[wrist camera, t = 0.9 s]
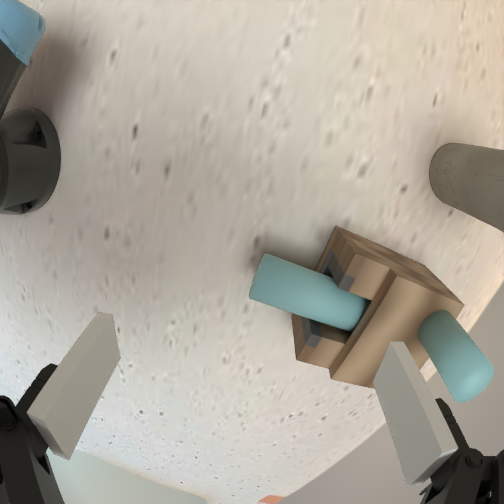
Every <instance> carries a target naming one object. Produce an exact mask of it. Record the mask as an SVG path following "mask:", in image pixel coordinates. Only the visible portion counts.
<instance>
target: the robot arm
mask: <svg viewBox="0 0 504 504" xmlns="http://www.w3.org/2000/svg"><path fill="white" fill-rule="evenodd" d="M44 30H45V21H44V19H43V17H42V16H41V15H40V14H39V13H37V12H36V11H34V10H33V9H31V8H29V7H28V6H26V5H25V4H23V3H21V2H20V1H18V0H0V214H15V215H21V214H26V213H29V212H31V211H33V210H36V209H38V208H40V207H41V206H42V205H43V204H44V203H45V202H46V201H47V200H48V199H49V197H50V196H51V194H52V192H53V190H54V188H55V185H56V183H57V179H58V175H59V169H60V146H59V141H58V137H57V133H56V131H55V128H54V126H53V124H52V123H51V121H50V120H49V118H48V117H47V116H46V115H45V114H44V113H42V112H41V111H39V110H36V109H17V110H13V111H11V112H9V113H7V114H5V115H3V113H4V111H5V109H6V106H7V104H8V102H9V99H10V97H11V95H12V93H13V91H14V89H15V87H16V85H17V83H18V81H19V79H20V77H21V75H22V73H23V71H24V69H25V68H26V66H28V65H29V63H30V58H31V56H32V54H33V52H34V50H35V48H36V46H37V44H38V42H39V40H40V39H41V37H42V35H43V33H44ZM119 360H120V353H119V348H118V343H117V337H116V332H115V326H114V320H113V315H112V314H107V313H102V312H98V313H97V315H96V316H95V317H94V319H93V320H92V321H91V322H90V324H89V325H88V326H87V328H86V329H85V330H84V332H83V333H82V334H81V336H80V337H79V338H78V339H77V341H76V342H75V344H74V345H73V346H72V348H71V349H70V350H69V352H68V353H67V354H66V356H65V357H64V358H63V360H62V361H61V363H60V364H59V365H55V364H52V363H51V364H49V365H48V366H46V367H45V368H43V369H42V370H41V371H40V373H39V374H38V375H37V377H36V379H34V381H33V382H32V384H31V386H29V388H28V389H27V391H26V392H25V394H24V395H23V396H22V398H21V399H20V401H19V402H18V404H17V405H16V407H15V405H14V403H13V402H12V400H11V399H10V398H9V397H6V396H4V395H2V396H0V504H9V503H10V504H65V503H64V501H63V498H62V496H61V493H60V491H59V488H58V486H57V483H56V480H55V477H54V474H53V471H52V468H51V465H50V462H49V459H48V456H47V454H46V450H47V448H48V446H49V448H50V449H51V451H52V452H53V453H54V454H55V455H58V456H60V457H63V458H65V459H67V460H70V458H71V456H72V453H73V451H74V449H75V447H76V445H77V443H78V441H79V439H80V436H81V434H82V432H83V430H84V428H85V426H86V424H87V422H88V420H89V418H90V416H91V414H92V412H93V410H94V408H95V406H96V404H97V402H98V400H99V398H100V396H101V394H102V392H103V390H104V388H105V386H106V385H107V383H108V381H109V379H110V377H111V375H112V373H113V371H114V369H115V368H116V366H117V364H118V362H119ZM373 385H374V387H375V390H376V393H377V396H378V398H379V401H380V404H381V407H382V410H383V412H384V415H385V418H386V421H387V424H388V427H389V430H390V433H391V436H392V439H393V442H394V445H395V448H396V451H397V454H398V458H399V461H400V464H401V467H402V471H403V474H404V477H405V481H406V484H407V487H412V486H416V485H420V484H423V483H424V482H425V481H426V480H427V479H428V478H429V477H430V478H431V481H432V483H431V484H429V485H428V486H427V487H426V488H425V489H424V490H422V491H421V493H420V494H419V495H422V494H423V493H425V492H426V493H425V495H424V497H423V499H422V501H421V503H420V504H504V450H502V451H501V452H500V453H499V454H498V455H497V456H483V455H482V453H481V452H480V451H478V450H477V449H472V448H469V446H468V444H467V442H466V440H465V438H464V436H463V434H462V432H461V430H460V428H459V426H458V423H456V420H455V418H454V416H453V414H452V412H451V410H450V408H449V406H448V405H447V404H446V403H445V402H444V401H443V400H442V399H441V398H438V399H434V397H433V395H432V393H431V391H430V389H429V387H428V385H427V383H426V381H425V379H424V378H423V376H422V374H421V372H420V370H419V368H418V366H417V365H416V363H415V361H414V359H413V357H412V356H411V354H410V352H409V350H408V348H407V347H406V345H405V343H404V342H390V344H389V346H388V348H387V351H386V353H385V356H384V358H383V360H382V362H381V365H380V367H379V369H378V371H377V373H376V376H375V378H374V380H373ZM490 492H491V497H490Z"/></svg>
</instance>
